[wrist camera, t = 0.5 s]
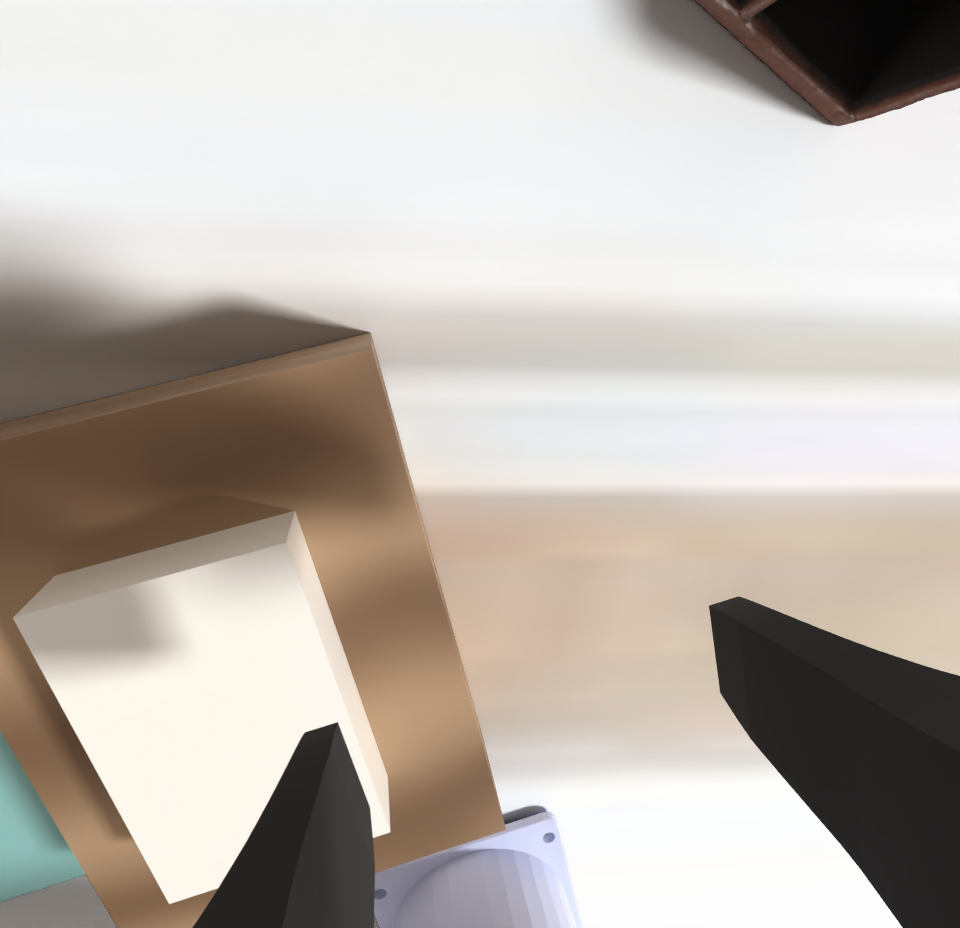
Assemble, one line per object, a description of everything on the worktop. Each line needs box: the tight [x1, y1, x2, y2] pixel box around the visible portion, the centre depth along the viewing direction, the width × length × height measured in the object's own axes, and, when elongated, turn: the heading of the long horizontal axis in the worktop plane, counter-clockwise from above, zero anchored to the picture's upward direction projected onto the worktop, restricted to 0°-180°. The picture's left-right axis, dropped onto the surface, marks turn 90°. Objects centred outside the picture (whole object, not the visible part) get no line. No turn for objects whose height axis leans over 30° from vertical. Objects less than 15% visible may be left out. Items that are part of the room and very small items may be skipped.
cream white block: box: [13, 511, 390, 904], centre depth 16 cm, size 9×6×2 cm, turn 13°
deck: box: [0, 333, 506, 928], centre depth 19 cm, size 16×12×4 cm
